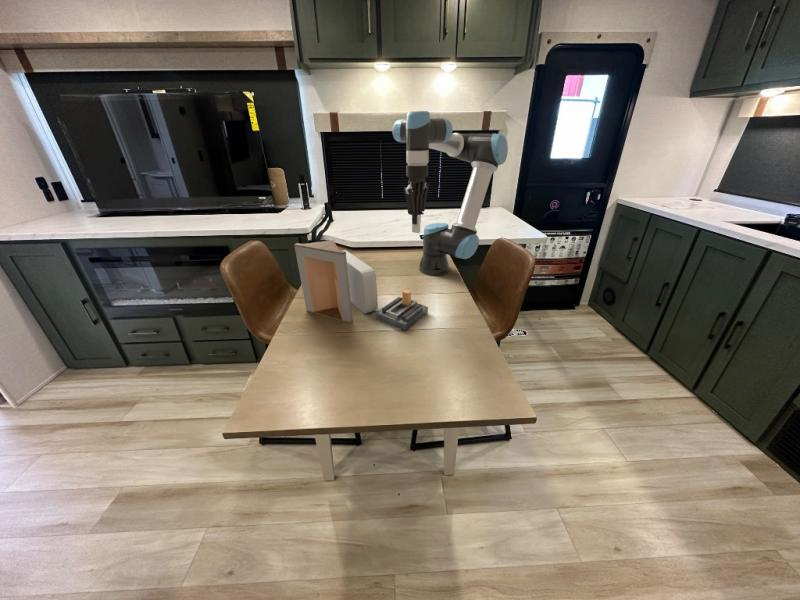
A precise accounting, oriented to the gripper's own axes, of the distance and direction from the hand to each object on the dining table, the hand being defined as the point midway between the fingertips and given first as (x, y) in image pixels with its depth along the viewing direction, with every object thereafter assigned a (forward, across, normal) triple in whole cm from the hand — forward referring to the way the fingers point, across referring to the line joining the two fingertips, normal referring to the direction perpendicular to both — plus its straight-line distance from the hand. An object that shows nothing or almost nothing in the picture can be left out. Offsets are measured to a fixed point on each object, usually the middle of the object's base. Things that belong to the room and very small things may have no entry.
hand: (416, 232), depth 117 cm
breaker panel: (+29, +14, +3) cm, 32 cm away
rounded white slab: (+30, +14, -21) cm, 39 cm away
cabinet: (+30, +26, -21) cm, 45 cm away
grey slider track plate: (+26, +14, +4) cm, 30 cm away
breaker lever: (+26, +10, +3) cm, 28 cm away
